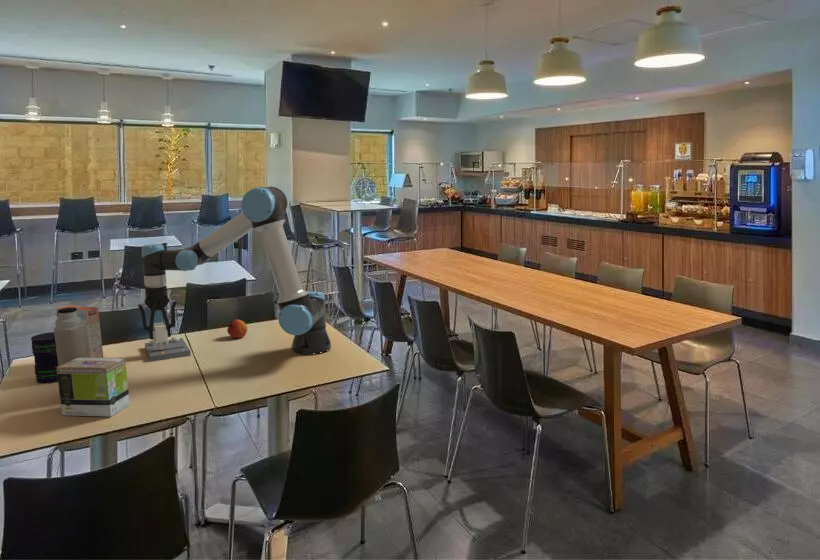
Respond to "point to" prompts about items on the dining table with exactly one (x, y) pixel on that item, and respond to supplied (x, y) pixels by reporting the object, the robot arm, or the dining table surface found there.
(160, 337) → the block
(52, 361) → the black striped canister
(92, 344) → the cracker box
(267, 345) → the dining table surface
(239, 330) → the fruit
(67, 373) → the tea box
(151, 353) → the console
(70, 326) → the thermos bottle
